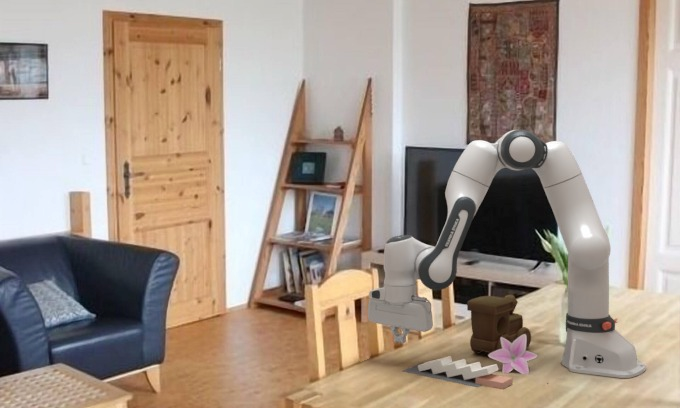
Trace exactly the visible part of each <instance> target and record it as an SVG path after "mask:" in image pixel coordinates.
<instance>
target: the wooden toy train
mask: <svg viewBox="0 0 680 408" xmlns="http://www.w3.org/2000/svg"><path fill="white" fill-rule="evenodd" d="M466 302H467V303H466V304H467V306H466V307H467V311H468V312H470V320H471V330H472V331H471V332H472V334H471V337H470V339H469V340H470V341H469V344H470V345H469V347H470V349H471V351H472V352H473V353H475V354H480V353H481V352H484V353H485V352H486V353H489V354H490V353H492V352H494V351H496V350H499V349H502V345H501V340H500V338H501V337H503V338H505V339H507V340H508V341H510V342H511V343H513V341H514V340H516V339H517V338H518V337H520V336H521V335H523V334H526V337H527V343H526V350H527V349H529V347H530V344H531V341H532V334H531V331H530V329H529V328H528V327H526V326H524V325H523V324H524V319H523V318H524V317H523V315H522V314H519V313H515V309H516V307H517V304H518V299H516V297H515V296H514V295H513V294H507V295H505V296H504V297H501V296H496V295H495V296H494V295H484V296H478V297H475V298H472V299H469V300H468V301H466ZM523 326H524V327H523Z"/></svg>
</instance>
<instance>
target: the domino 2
mask: <svg viewBox="0 0 680 408" xmlns="http://www.w3.org/2000/svg"><path fill="white" fill-rule="evenodd" d="M465 365H467V361H466V359H465V358H462V359H458V360H454V361H452V362H451V363H448V364H446V365H444V366H440V367H436V368H432V372H433V374H437V373H441V372H446V371H450V370H455V369H458V368H460V367H463V366H465Z"/></svg>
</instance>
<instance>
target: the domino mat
mask: <svg viewBox="0 0 680 408" xmlns="http://www.w3.org/2000/svg"><path fill="white" fill-rule="evenodd" d="M423 363H424V362H420V363H417V364H416V365H413V366H411V367H408V368H406V369H403V370H402V372H404V373H408V374H413V375H417V376H422V377H426V378H427V377H428V378H432V379H436V380H441V381H444V382H445V381H446V382H451V383H455V384H459V385H464V386H469V387H475V388H479V387H482V386H483V385H481V384H476V377H475V378H471V379H467V380H464V378H463V375H462V374H461V375H456V376H452V377H447V374H446V372H441V373H437V374H433V372H432V369H428V370H423V371H419V369H418V365H421V364H423Z"/></svg>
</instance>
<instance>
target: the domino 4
mask: <svg viewBox="0 0 680 408" xmlns="http://www.w3.org/2000/svg"><path fill="white" fill-rule="evenodd" d="M498 371H499V367H498V364H497V363H495V364H491V365H486V366H483V367H482V366H481V368H479V369H477V370H475V371H473V372H469V373H465V374H462V375H463V378H464V380H467V379H471V378H475V377H480V376H484V375H489V374H493V373H495V372H498Z"/></svg>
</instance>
